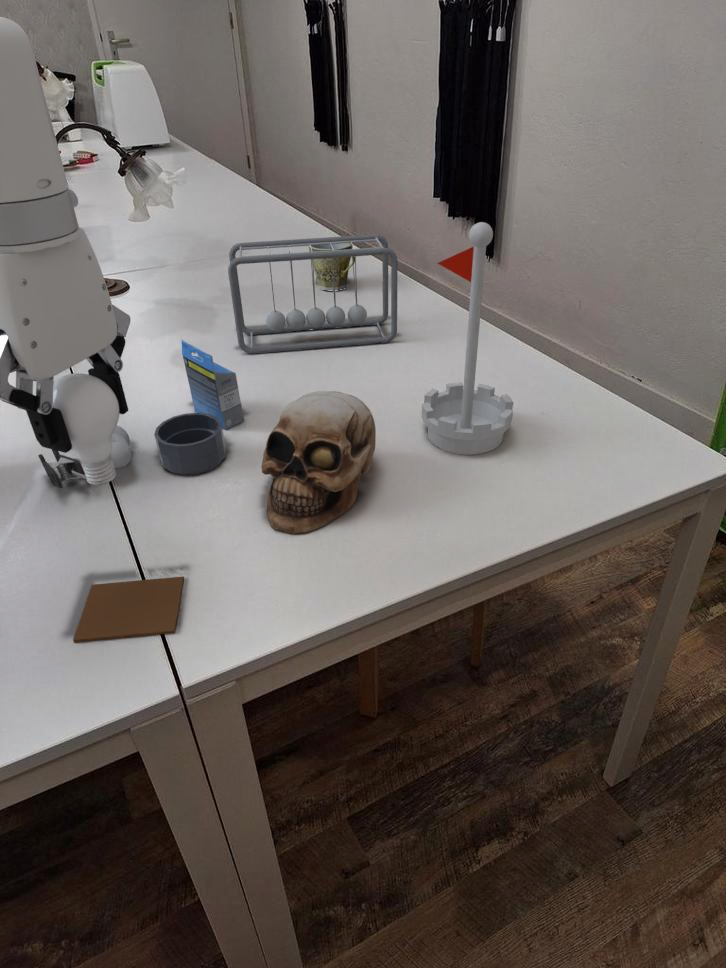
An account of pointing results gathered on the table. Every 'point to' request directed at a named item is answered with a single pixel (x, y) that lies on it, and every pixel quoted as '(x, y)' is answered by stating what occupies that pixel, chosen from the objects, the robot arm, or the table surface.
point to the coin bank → (317, 459)
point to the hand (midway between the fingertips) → (86, 427)
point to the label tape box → (212, 387)
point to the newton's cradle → (314, 315)
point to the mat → (130, 609)
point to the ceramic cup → (325, 267)
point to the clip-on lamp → (73, 467)
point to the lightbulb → (89, 422)
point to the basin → (190, 443)
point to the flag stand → (468, 373)
